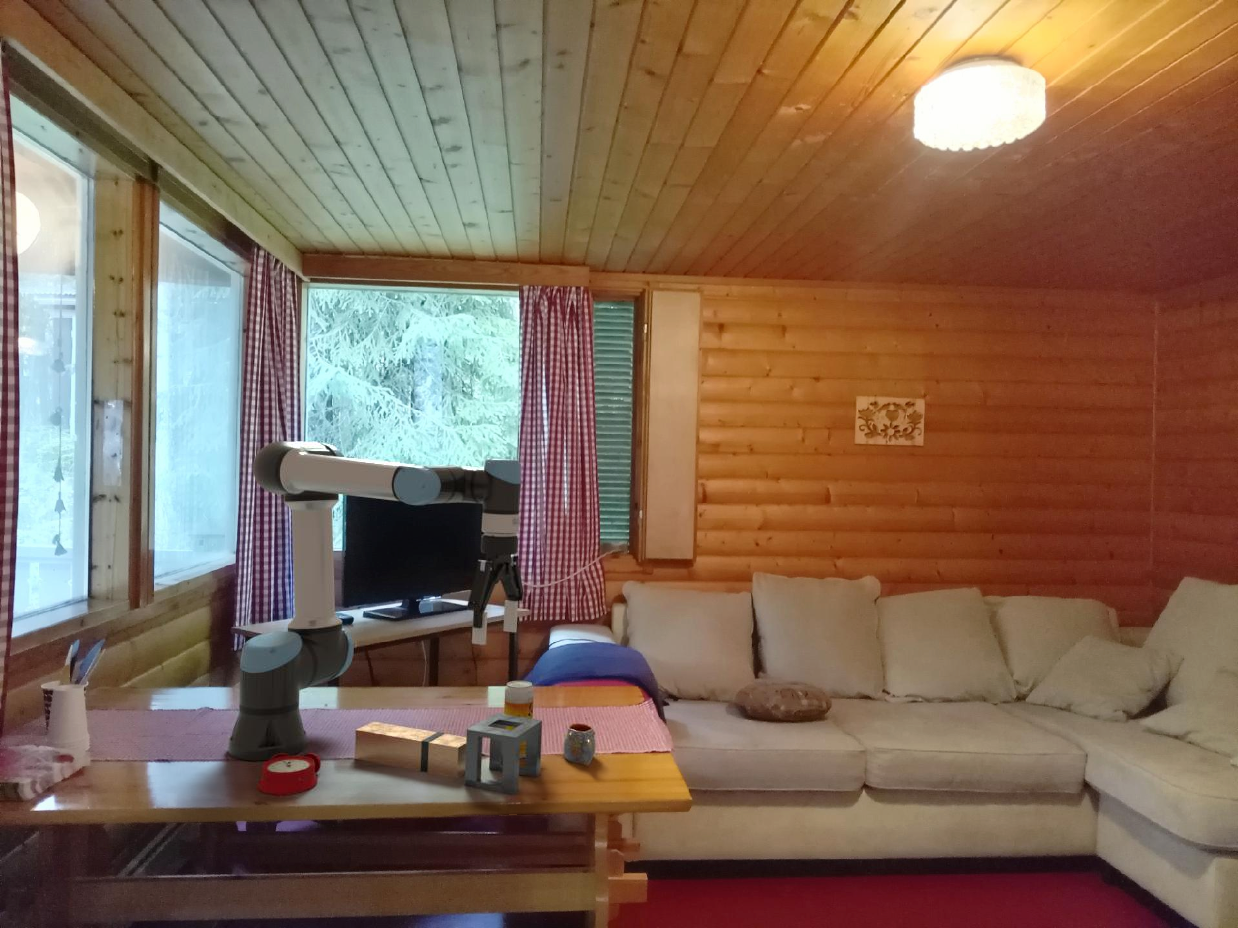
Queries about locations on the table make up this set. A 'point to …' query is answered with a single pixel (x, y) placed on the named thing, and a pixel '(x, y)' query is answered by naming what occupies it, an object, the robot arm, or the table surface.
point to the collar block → (503, 751)
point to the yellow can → (519, 704)
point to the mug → (579, 744)
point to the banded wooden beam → (411, 749)
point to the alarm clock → (289, 774)
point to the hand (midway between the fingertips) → (494, 637)
